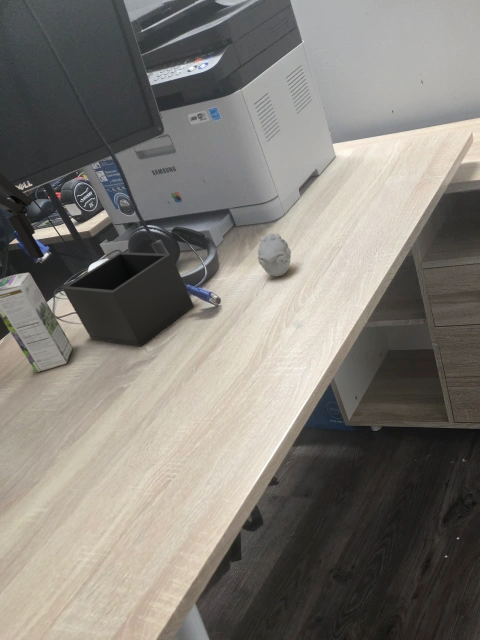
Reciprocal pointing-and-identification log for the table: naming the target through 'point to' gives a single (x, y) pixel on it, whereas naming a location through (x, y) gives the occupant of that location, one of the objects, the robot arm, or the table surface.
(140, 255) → the open box
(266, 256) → the grey decorated egg
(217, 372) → the table surface
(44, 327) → the syrup box
